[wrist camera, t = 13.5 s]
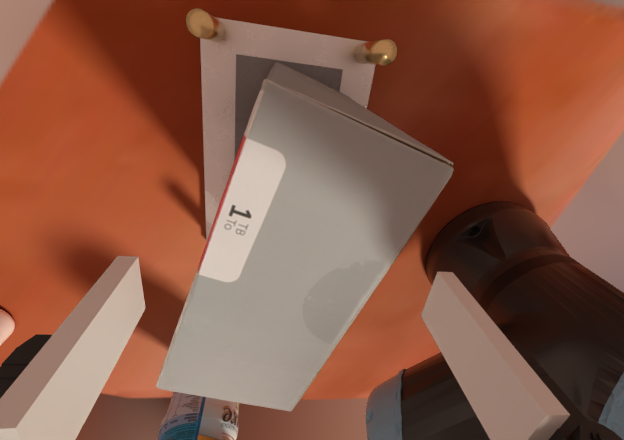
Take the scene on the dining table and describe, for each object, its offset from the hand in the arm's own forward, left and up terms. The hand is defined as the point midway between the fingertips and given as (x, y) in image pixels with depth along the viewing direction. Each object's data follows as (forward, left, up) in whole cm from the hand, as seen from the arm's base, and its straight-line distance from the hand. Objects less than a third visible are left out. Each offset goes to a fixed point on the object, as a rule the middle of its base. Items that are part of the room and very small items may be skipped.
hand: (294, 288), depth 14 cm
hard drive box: (0, 0, -19) cm, 19 cm away
